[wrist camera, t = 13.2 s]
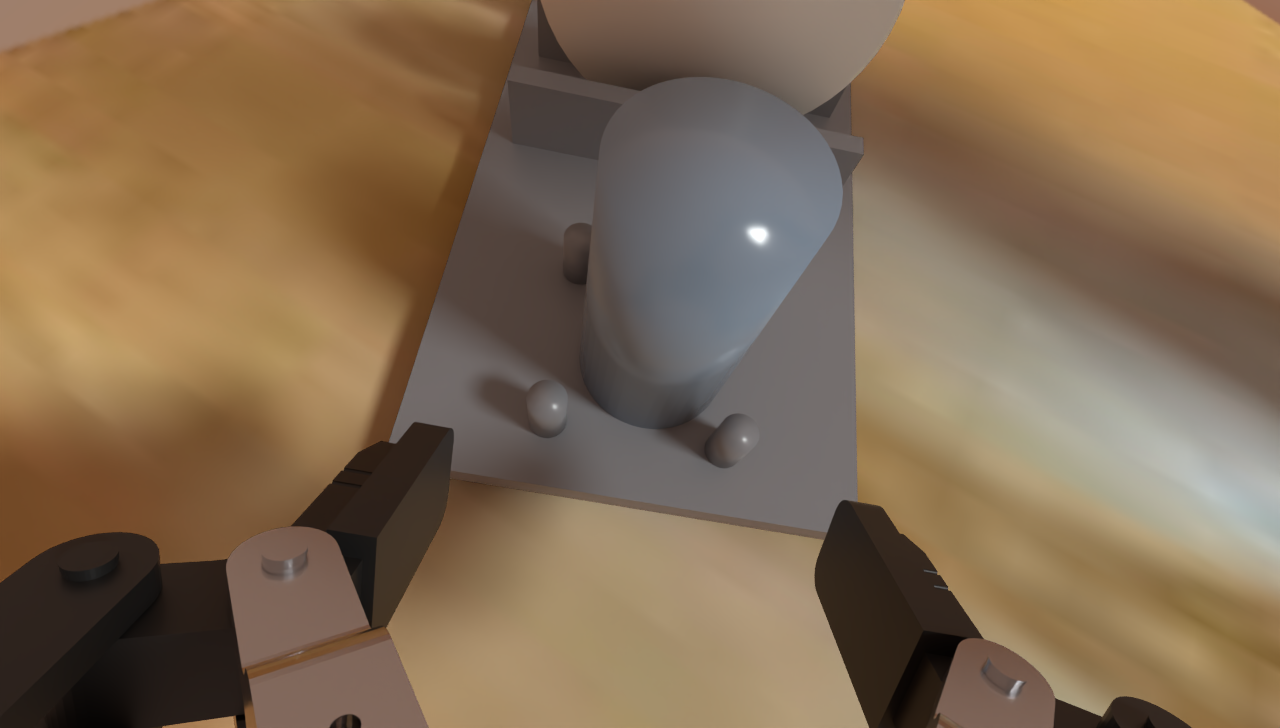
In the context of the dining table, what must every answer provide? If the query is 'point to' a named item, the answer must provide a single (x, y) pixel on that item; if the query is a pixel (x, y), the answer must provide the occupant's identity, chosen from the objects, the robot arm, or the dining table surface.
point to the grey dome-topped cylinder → (696, 240)
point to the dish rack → (558, 264)
